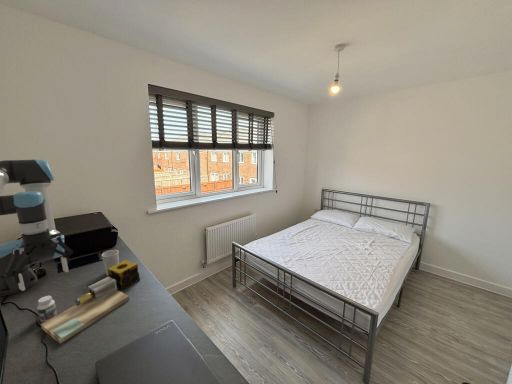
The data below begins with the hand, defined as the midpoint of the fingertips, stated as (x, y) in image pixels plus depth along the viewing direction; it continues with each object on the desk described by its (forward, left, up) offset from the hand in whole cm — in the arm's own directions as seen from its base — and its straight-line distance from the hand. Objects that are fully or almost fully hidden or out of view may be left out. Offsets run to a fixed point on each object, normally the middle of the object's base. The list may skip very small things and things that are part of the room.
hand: (45, 279), depth 86 cm
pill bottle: (-1, -1, -17) cm, 17 cm away
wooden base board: (+12, +8, -17) cm, 22 cm away
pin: (+7, +10, -14) cm, 18 cm away
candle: (+5, +28, -17) cm, 33 cm away
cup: (-11, +31, -17) cm, 37 cm away
